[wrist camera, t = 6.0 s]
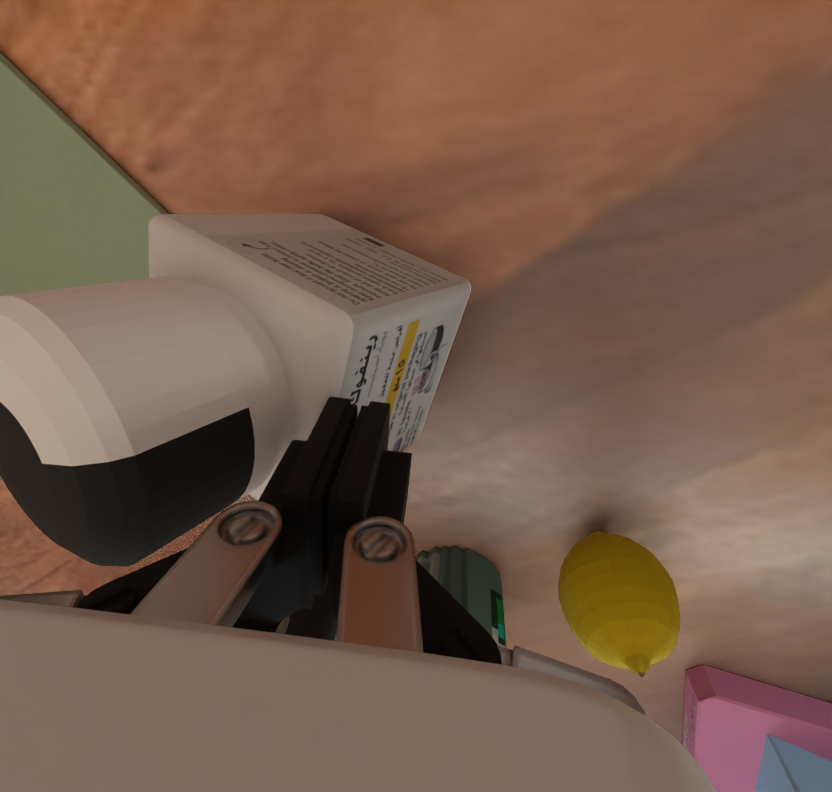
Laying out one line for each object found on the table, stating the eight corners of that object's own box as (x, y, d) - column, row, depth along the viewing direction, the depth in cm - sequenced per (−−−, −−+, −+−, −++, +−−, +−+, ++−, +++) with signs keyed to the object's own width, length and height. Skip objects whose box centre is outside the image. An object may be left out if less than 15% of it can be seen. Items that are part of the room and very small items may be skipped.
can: (460, 623, 32) (454, 959, 19) (387, 583, 31) (326, 913, 17) (519, 578, 29) (559, 934, 16) (441, 532, 28) (416, 878, 15)
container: (420, 442, 21) (134, 672, 10) (296, 366, 23) (-35, 489, 13) (477, 280, 17) (113, 391, 6) (321, 210, 19) (-121, 208, 9)
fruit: (546, 570, 28) (570, 708, 21) (551, 501, 26) (581, 634, 19) (640, 572, 28) (697, 716, 21) (655, 502, 25) (726, 641, 18)
